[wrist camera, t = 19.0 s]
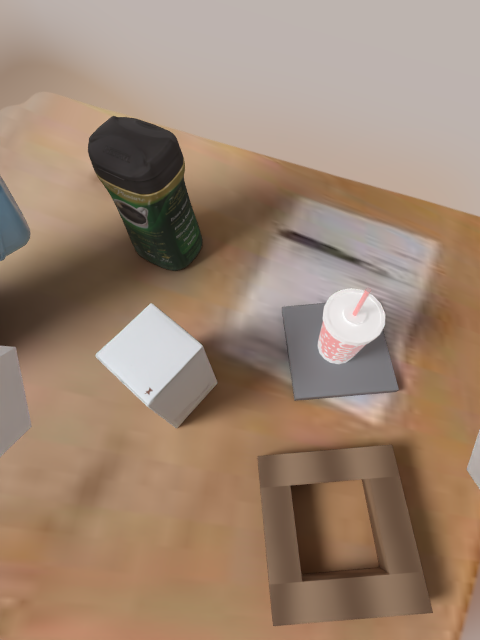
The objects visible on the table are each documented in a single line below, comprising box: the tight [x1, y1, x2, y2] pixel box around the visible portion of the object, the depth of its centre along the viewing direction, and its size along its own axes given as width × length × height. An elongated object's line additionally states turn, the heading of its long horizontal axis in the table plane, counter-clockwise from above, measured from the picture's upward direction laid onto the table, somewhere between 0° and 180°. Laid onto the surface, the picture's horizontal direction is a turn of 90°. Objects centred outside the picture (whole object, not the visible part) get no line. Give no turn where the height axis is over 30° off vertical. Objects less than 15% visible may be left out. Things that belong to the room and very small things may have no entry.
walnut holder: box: [258, 445, 433, 626], centre depth 36 cm, size 14×14×3 cm
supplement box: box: [95, 303, 217, 428], centre depth 38 cm, size 7×7×13 cm
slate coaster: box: [282, 303, 399, 401], centre depth 45 cm, size 12×12×1 cm
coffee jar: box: [88, 116, 202, 271], centre depth 44 cm, size 10×8×19 cm
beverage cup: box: [318, 288, 385, 364], centre depth 38 cm, size 6×6×14 cm
